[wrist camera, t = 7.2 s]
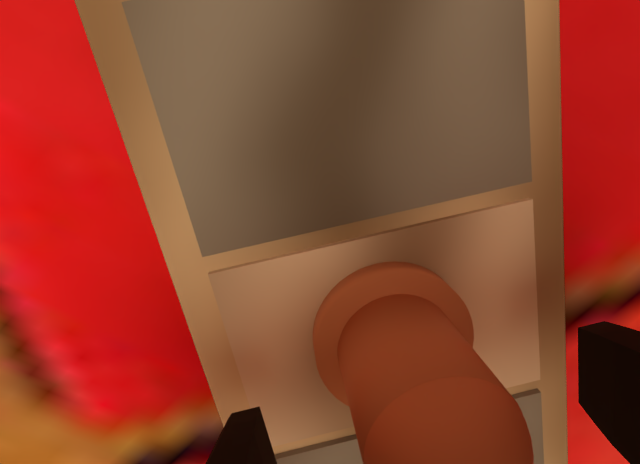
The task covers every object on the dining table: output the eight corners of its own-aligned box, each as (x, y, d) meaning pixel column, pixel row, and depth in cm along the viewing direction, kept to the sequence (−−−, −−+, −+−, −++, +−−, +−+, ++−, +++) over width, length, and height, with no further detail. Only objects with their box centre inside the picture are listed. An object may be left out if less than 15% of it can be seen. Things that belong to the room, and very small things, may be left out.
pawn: (453, 245, 11) (614, 369, 6) (467, 376, 12) (610, 576, 7) (297, 281, 11) (316, 443, 6) (329, 410, 12) (368, 641, 7)
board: (516, -488, 8) (555, -586, 7) (551, 502, 16) (572, 532, 15) (-45, -399, 8) (-101, -490, 6) (284, 573, 16) (284, 609, 15)
